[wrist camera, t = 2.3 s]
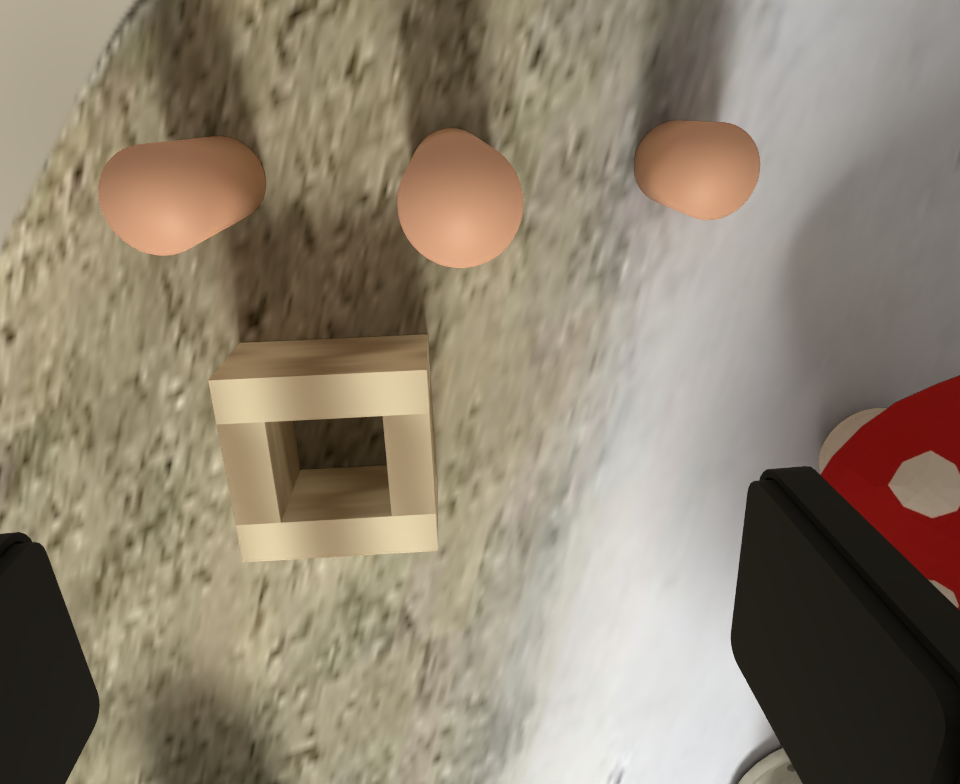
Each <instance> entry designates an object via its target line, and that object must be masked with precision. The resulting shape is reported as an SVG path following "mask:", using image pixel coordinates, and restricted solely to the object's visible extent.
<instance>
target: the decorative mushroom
mask: <svg viewBox="0 0 960 784" xmlns="http://www.w3.org/2000/svg"><path fill="white" fill-rule="evenodd" d="M818 467H819V472H820V475H821V476H822V477H823V478H824V479H825V480H826V481H827V482H828V483H829V484H830V485H831V486H832V487H833V488H834V489H835V490H836V491H837V492H838V493H839V494H840V495H841V496H842V497H843V498H845V499H846V500H847V501H848V502H849V503H850V504H851V505H852V506H853V507H854V508H855V509H856V510H857V511H858V512H859V513H860V514H861V515H862V516H863V517H864V518H865V519H866V520H867V521H868V522H869V523H870V524H871V525H872V526H873V527H874V528H875V529H876V530H877V531H879V532H880V533H881V534H882V535H883V536H884V537H885V538H886V539H887V540H888V541H889V542H890V543H891V544H892V545H893V546H894V547H895V548H896V549H897V550H898V551H899V552H900V553H901V554H902V555H903V556H904V557H905V558H906V559H907V560H908V561H909V562H910V563H911V564H913V565H914V566H915V567H916V568H917V569H918V570H919V571H920V572H921V573H922V574H923V575H924V576H925V577H926V578H927V579H928V580H929V581H930V582H931V583H932V584H933V585H934V586H935V587H936V588H937V589H938V590H939V591H940V592H941V593H942V594H943V595H944V596H945V597H946V598H948V599H949V600H950V601H951V602H952V603H953V604H954V605H955V606H956V607H957V608H958V609H959V610H960V375H959V376H957V377H954V378H951V379H949V380H946V381H943V382H941V383H938V384H935V385H933V386H931V387H929V388H926V389H924V390H922V391H920V392H917V393H915V394H913V395H911V396H908V397H906V398H904V399H902V400H900V401H897V402H896V403H894V404H893V405H891V406H890V407H888V408H872V409H867V410H863V411H860V412H858V413H856V414H853V415H851V416H849V417H848V418H846V419H845V420H844V421H842V422H841V423H839V424H838V425H837V426H836V427H835V428H834V429H833V430H832V431H831V432H830V434H829V435H828V437H827V438H826V440H825V442H824V443H823V446H822V448H821V451H820V454H819V463H818Z"/></svg>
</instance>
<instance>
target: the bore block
mask: <svg viewBox="0 0 960 784" xmlns="http://www.w3.org/2000/svg"><path fill="white" fill-rule="evenodd" d="M208 382H209V387H210V392H211V397H212V403H213V408H214V413H215V418H216V424H217V429H218V434H219V440H220V445H221V450H222V455H223V461H224V466H225V471H226V476H227V482H228V487H229V492H230V497H231V503H232V508H233V513H234V518H235V524H236V529H237V534H238V539H239V545H240V550H241V555H242V560H243V562H257V561H274V560H291V559H307V558H324V557H341V556H358V555H374V554H391V553H408V552H424V551H438V490H437V474H436V458H435V441H434V425H433V409H432V393H431V376H430V360H429V344H428V334H421V335H399V336H378V337H356V338H335V339H314V340H292V341H271V342H249V343H239V344H238V346H237V347H236V348H235V349H234V350H233V352H232V353H231V354H230V355H229V356H228V358H227V359H226V360H225V361H224V362H223V364H222V365H221V366H220V367H219V368H218V370H217V371H216V372H215V373H214V374H213V376H212V377H211V378H210V379H209V380H208ZM373 416H383V426H384V437H385V448H386V459H387V465H380V466H361V467H343V468H325V469H306V470H300V463H299V456H298V449H297V442H296V435H295V428H294V421H295V420H315V419H334V418H354V417H373Z"/></svg>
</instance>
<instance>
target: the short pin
mask: <svg viewBox="0 0 960 784" xmlns="http://www.w3.org/2000/svg"><path fill="white" fill-rule="evenodd" d="M759 172H760V157H759V152H758V149H757V146H756V144H755V142H754V141H753V139H752V138H751V136H750V135H749V134H748V133H747V132H746V131H744V130H743V129H742V128H740V127H738V126H736V125H733V124H730V123H725V122H705V121H684V120H673V121H668V122H665V123H662V124H660V125H658V126H656V127H655V128H653V129H652V130H651V131H650V132H649V133H647V135H646V136H645V137H644V138H643V140H642V141H641V143H640V144H639V146H638V149H637V151H636V154H635V159H634V175H635V178H636V181H637V184H638V186H639V187H640V189H641V190H642V192H643V193H644V194H645V195H646V196H647V197H649V198H650V199H652V200H654V201H656V202H658V203H661V204H663V205H665V206H668V207H670V208H672V209H675V210H677V211H680V212H682V213H684V214H687V215H689V216H691V217H694V218H697V219H702V220H713V219H719V218H722V217H725V216H727V215H729V214H731V213H733V212H734V211H736V210H737V209H739V208H740V207H741V206H742V205H743V204H744V203H745V202H746V201H747V200H748V198H749V197H750V195H751V194H752V192H753V190H754V188H755V186H756V184H757V181H758V177H759Z"/></svg>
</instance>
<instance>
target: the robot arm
mask: <svg viewBox="0 0 960 784" xmlns="http://www.w3.org/2000/svg"><path fill="white" fill-rule="evenodd" d="M731 646H732V650H733V654H734V657H735V660H736V662H737V665H738V666H739V668H740V670H741V672H742V674H743V676H744V677H745V679H746V681H747V683H748V685H749V687H750V688H751V690H752V692H753V694H754V696H755V698H756V699H757V701H758V703H759V705H760V707H761V709H762V710H763V712H764V714H765V716H766V718H767V720H768V721H769V723H770V725H771V727H772V729H773V731H774V732H775V734H776V736H777V738H778V740H779V742H780V743H781V745H782V748H781V749H779V750H777V751H775V752H773V753H771V754H769V755H768V756H766V757H765V758H764V759H762V760H761V761H759V762H758V763H756V764H755V765H754V766H753V767H752V768H751V769H750V770H749V771H748V772H747V773H746V774H745V775H744V776H743V777H742V779H741V780H740V782H739V783H738V784H960V610H959V609H958V608H957V607H956V606H955V605H954V604H953V603H952V602H951V601H950V600H949V599H948V598H946V597H945V596H944V595H943V594H942V593H941V592H940V591H939V590H938V589H937V588H936V587H935V586H934V585H933V584H932V583H931V582H930V581H929V580H928V579H927V578H926V577H925V576H924V575H923V574H922V573H921V572H920V571H919V570H918V569H917V568H916V567H915V566H914V565H913V564H911V563H910V562H909V561H908V560H907V559H906V558H905V557H904V556H903V555H902V554H901V553H900V552H899V551H898V550H897V549H896V548H895V547H894V546H893V545H892V544H891V543H890V542H889V541H888V540H887V539H886V538H885V537H884V536H883V535H882V534H881V533H880V532H879V531H877V530H876V529H875V528H874V527H873V526H872V525H871V524H870V523H869V522H868V521H867V520H866V519H865V518H864V517H863V516H862V515H861V514H860V513H859V512H858V511H857V510H856V509H855V508H854V507H853V506H852V505H851V504H850V503H849V502H848V501H847V500H846V499H845V498H843V497H842V496H841V495H840V494H839V493H838V492H837V491H836V490H835V489H834V488H833V487H832V486H831V485H830V484H829V483H828V482H827V481H826V480H825V479H824V478H823V477H822V476H821V475H820V474H819V473H818V472H817V471H816V470H814V469H813V468H811V467H807V466H803V467H791V468H779V469H767V470H766V471H764V472H763V473H762V475H761V477H760V481H753V482H752V483H751V484H750V486H749V488H748V493H747V502H746V510H745V519H744V527H743V536H742V544H741V553H740V561H739V570H738V578H737V587H736V595H735V604H734V612H733V621H732V629H731ZM98 714H99V696H98V693H97V690H96V687H95V684H94V682H93V679H92V676H91V673H90V671H89V668H88V665H87V662H86V660H85V657H84V654H83V651H82V649H81V646H80V643H79V640H78V638H77V635H76V632H75V629H74V627H73V624H72V621H71V618H70V616H69V613H68V610H67V607H66V605H65V602H64V599H63V596H62V594H61V591H60V588H59V586H58V583H57V580H56V577H55V575H54V572H53V569H52V566H51V564H50V561H49V558H48V555H47V553H46V551H45V549H44V547H43V546H42V545H41V544H40V543H36V542H32V541H31V539H30V538H29V537H28V536H27V535H26V534H23V533H20V532H17V533H5V534H0V784H65V783H66V781H67V779H68V777H69V775H70V773H71V771H72V769H73V767H74V765H75V763H76V762H77V760H78V758H79V756H80V754H81V752H82V750H83V748H84V746H85V744H86V742H87V740H88V738H89V736H90V735H91V733H92V731H93V729H94V727H95V724H96V722H97V718H98Z"/></svg>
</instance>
